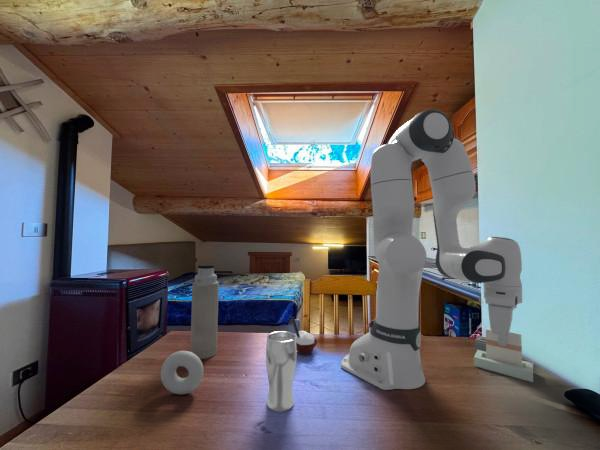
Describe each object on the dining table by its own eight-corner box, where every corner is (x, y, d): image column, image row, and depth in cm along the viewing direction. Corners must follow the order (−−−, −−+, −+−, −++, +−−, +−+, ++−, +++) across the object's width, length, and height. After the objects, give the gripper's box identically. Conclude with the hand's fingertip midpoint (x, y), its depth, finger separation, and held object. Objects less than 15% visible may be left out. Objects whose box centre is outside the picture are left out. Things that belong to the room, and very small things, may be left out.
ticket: (486, 360, 79) (485, 329, 79) (486, 358, 80) (486, 327, 81) (521, 369, 74) (521, 336, 74) (522, 367, 75) (521, 334, 75)
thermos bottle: (205, 346, 92) (208, 262, 93) (222, 351, 88) (224, 264, 88) (184, 354, 85) (187, 264, 86) (201, 361, 81) (203, 266, 82)
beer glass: (291, 415, 57) (293, 343, 58) (260, 410, 59) (261, 340, 59) (298, 396, 64) (299, 332, 65) (270, 392, 66) (271, 329, 66)
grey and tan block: (475, 357, 86) (475, 340, 86) (478, 351, 91) (478, 334, 91) (519, 369, 79) (518, 350, 79) (519, 361, 84) (519, 343, 84)
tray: (474, 369, 79) (473, 357, 79) (477, 361, 84) (477, 349, 84) (533, 386, 70) (533, 372, 70) (533, 375, 75) (532, 363, 75)
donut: (156, 397, 63) (158, 353, 63) (164, 389, 66) (165, 347, 67) (200, 398, 63) (201, 354, 63) (205, 389, 66) (206, 348, 67)
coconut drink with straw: (315, 349, 92) (317, 312, 93) (319, 356, 85) (321, 317, 86) (287, 349, 90) (289, 312, 91) (289, 356, 84) (291, 317, 85)
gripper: (492, 287, 88) (493, 330, 87) (484, 298, 72) (485, 351, 72) (517, 290, 84) (518, 335, 83) (514, 302, 68) (515, 358, 68)
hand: (503, 343), depth 77 cm, fingers closed on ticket, 2 cm apart
